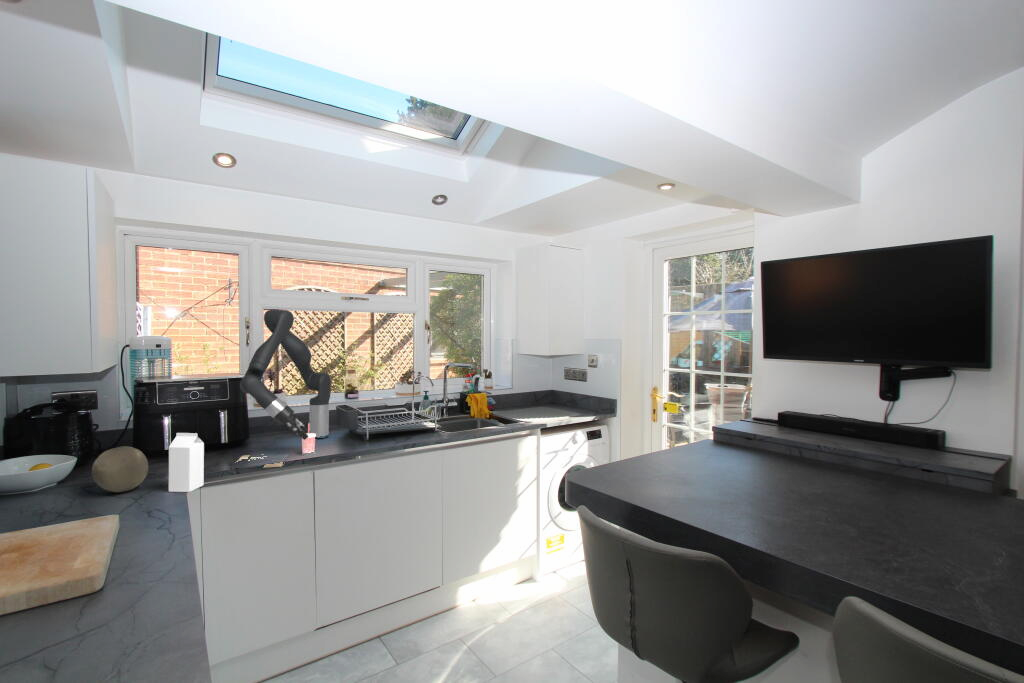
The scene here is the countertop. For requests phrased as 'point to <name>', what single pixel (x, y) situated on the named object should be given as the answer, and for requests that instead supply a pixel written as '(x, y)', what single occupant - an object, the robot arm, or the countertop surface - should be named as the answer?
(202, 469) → the milk carton
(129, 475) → the cantaloupe
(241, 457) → the oak board
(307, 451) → the beverage cup
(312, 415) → the robot arm
